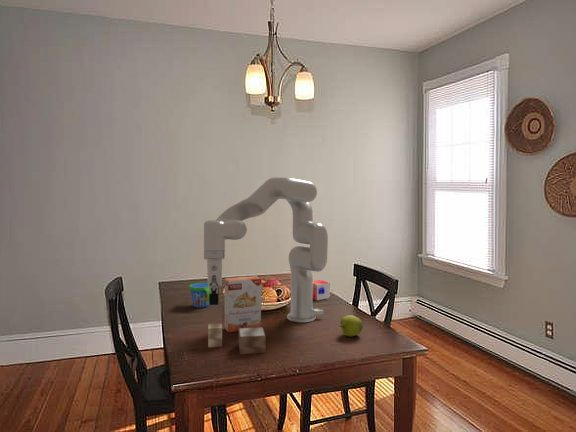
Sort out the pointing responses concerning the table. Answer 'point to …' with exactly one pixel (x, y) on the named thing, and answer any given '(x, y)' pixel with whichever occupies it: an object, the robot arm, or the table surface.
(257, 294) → the cracker box
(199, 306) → the snack cup
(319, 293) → the red and white cube
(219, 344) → the beech block
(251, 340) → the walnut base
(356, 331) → the apple
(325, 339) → the table surface
